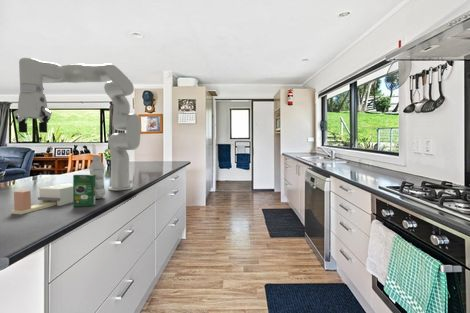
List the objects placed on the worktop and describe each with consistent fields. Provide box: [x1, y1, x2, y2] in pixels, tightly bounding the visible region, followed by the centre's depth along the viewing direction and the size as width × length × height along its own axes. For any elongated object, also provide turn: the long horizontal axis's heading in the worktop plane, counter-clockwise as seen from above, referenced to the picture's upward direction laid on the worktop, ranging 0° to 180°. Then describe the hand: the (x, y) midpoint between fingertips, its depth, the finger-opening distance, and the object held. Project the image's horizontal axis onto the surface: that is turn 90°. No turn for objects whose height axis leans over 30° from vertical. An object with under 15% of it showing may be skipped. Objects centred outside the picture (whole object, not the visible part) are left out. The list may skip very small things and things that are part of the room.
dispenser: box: [37, 182, 73, 207], centre depth 121 cm, size 15×10×7 cm
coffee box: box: [72, 174, 96, 208], centre depth 113 cm, size 8×3×13 cm, turn 102°
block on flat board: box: [11, 190, 57, 215], centre depth 109 cm, size 19×4×8 cm, turn 169°
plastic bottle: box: [88, 155, 106, 200], centre depth 128 cm, size 6×7×20 cm
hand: (33, 132), depth 112 cm, fingers open, 9 cm apart
